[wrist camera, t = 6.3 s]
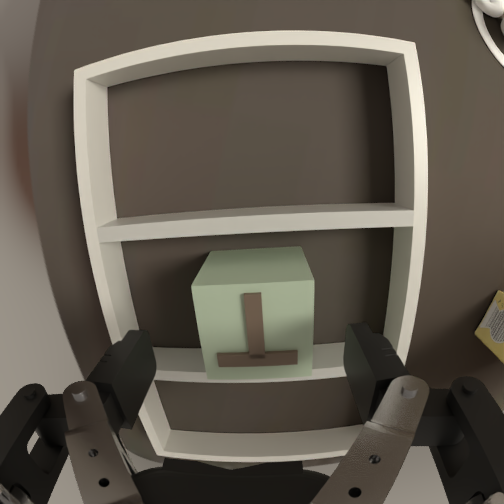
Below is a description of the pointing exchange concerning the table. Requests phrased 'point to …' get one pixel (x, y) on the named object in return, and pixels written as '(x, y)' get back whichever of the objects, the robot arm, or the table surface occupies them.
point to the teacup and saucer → (493, 4)
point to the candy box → (493, 326)
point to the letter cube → (255, 313)
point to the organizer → (252, 221)
